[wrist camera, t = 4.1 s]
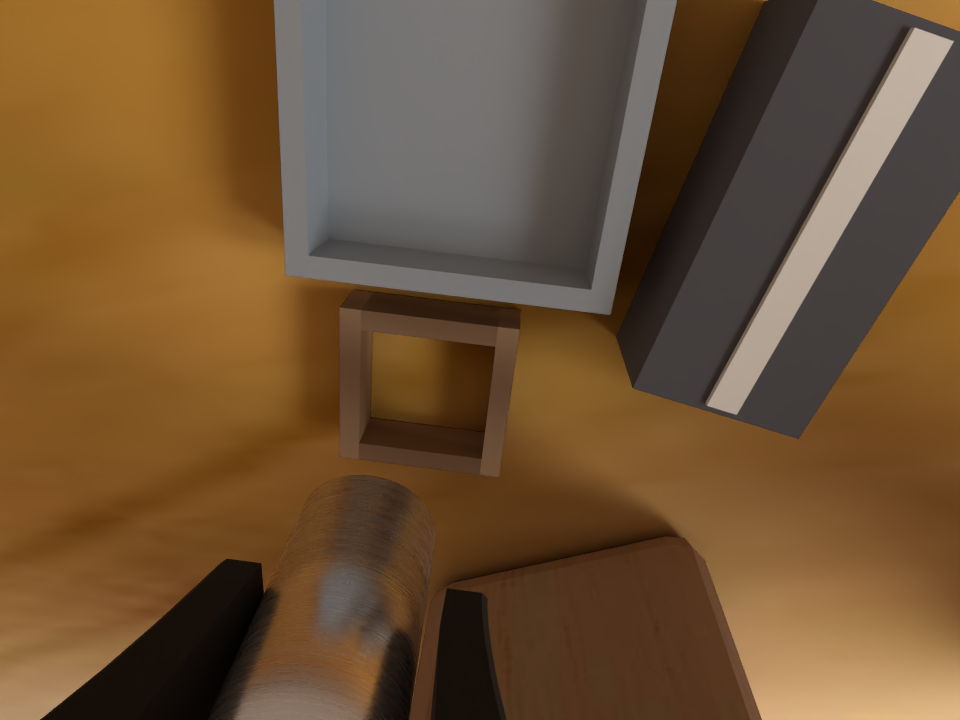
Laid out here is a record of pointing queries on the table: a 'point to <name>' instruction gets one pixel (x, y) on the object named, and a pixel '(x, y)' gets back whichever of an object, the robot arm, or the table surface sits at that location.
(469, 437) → the collar
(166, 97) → the table surface
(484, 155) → the tray
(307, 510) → the pin
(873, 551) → the table surface
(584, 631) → the wooden block
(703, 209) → the block
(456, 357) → the table surface
